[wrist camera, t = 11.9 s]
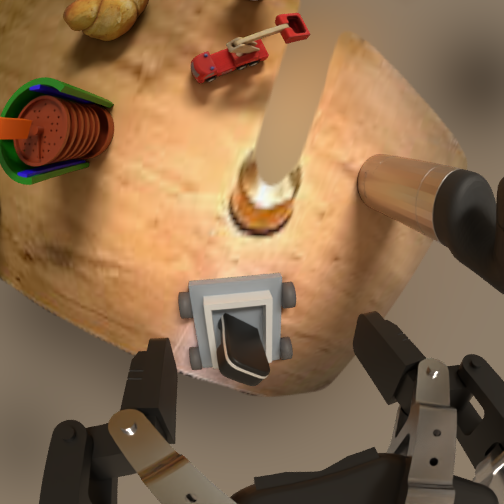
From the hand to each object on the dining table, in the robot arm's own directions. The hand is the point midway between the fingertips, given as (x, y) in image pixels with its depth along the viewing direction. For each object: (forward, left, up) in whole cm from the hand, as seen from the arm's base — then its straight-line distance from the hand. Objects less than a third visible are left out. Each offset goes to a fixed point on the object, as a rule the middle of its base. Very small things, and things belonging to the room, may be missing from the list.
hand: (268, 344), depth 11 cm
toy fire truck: (-3, -20, -30) cm, 37 cm away
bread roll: (+14, -31, -30) cm, 46 cm away
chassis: (-1, +21, -30) cm, 36 cm away
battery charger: (0, +21, -29) cm, 35 cm away
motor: (+19, -12, -30) cm, 38 cm away
